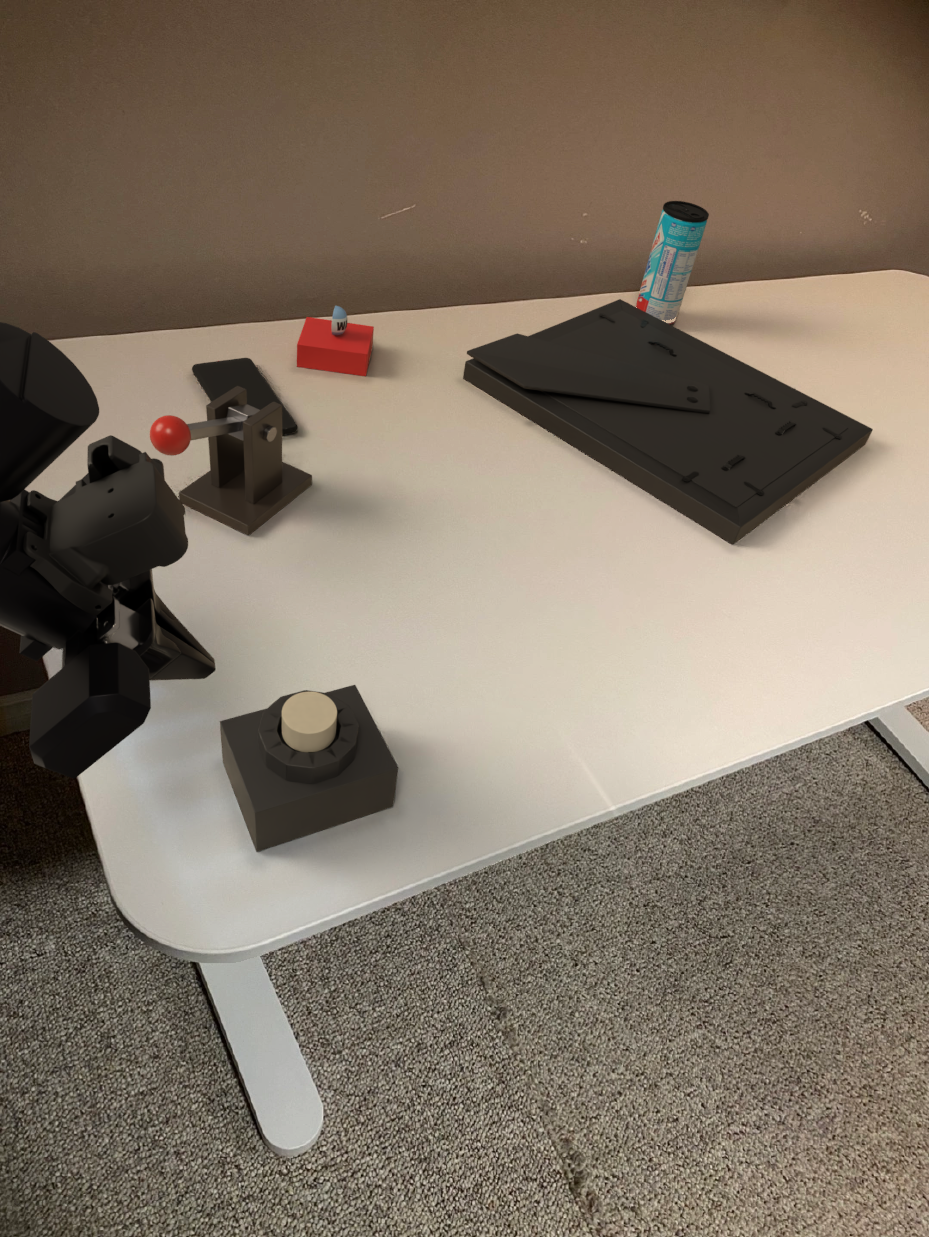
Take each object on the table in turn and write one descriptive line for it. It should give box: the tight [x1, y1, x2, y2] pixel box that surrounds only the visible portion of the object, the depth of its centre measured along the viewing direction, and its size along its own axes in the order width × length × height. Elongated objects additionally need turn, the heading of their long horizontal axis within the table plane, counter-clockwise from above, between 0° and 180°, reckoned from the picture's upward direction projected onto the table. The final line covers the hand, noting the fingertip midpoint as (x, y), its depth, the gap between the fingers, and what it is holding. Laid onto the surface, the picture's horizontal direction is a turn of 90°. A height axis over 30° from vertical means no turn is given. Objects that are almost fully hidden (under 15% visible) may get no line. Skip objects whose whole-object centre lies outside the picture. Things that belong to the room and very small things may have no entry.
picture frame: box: [462, 298, 874, 545], centre depth 110 cm, size 31×4×38 cm
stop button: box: [282, 690, 337, 753], centre depth 62 cm, size 4×4×2 cm
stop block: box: [219, 684, 399, 853], centre depth 65 cm, size 10×8×6 cm
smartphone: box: [191, 357, 299, 436], centre depth 100 cm, size 7×1×15 cm
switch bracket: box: [178, 386, 313, 536], centre depth 86 cm, size 10×8×10 cm
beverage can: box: [635, 200, 710, 326], centre depth 124 cm, size 6×6×15 cm
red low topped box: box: [296, 305, 375, 377], centre depth 108 cm, size 8×7×6 cm
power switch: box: [149, 405, 260, 457], centre depth 80 cm, size 13×3×3 cm, turn 151°
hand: (210, 669), depth 56 cm, fingers closed
